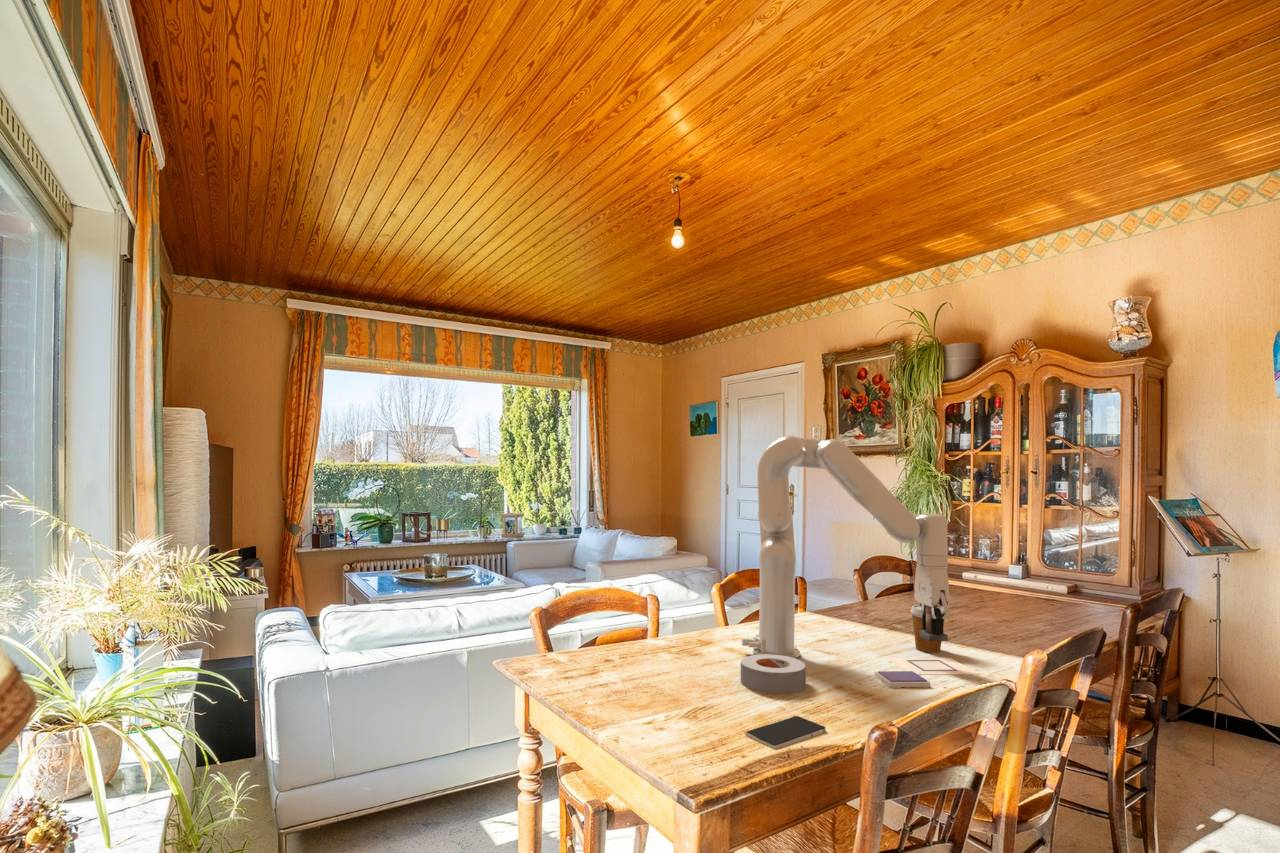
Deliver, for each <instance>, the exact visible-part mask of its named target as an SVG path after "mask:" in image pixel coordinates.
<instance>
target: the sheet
mask: <svg viewBox="0 0 1280 853" xmlns="http://www.w3.org/2000/svg"><path fill="white" fill-rule="evenodd" d="M886 659H887V660H888V661H890V662H891V663H893V664H894V665H896V666H898V667H899V668H900V669H902V671H913V672H915V673H916V674H918V675H919V676H921V675H923V676H929V675H930V676H932V675H933V676H935V675H936V676H937V675H938V676H939V675H941V676H942V675H946V676H947V675H951V676H953V675H980V673H979V672H978V671H975V670H973V669H971V668H969V667H968V666H966V665H964V664H962V663H960V662H959V661H957V660H955V659H953V658H951V657H886Z"/></svg>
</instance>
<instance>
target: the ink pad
mask: <svg viewBox="0 0 1280 853" xmlns="http://www.w3.org/2000/svg"><path fill="white" fill-rule="evenodd" d="M874 677H876V679H878V680H879V681H880V682H881V683H882V684H884V685H885V686H886V685H887V686H886V687H888V688H889V689H891V688H892V689H893V688H894V689H895V688H896V689H899V688H901V687H923V688H931V682H930V681H929V680H927V679H926V678H924V677H923V676H921V675H918V674H916V673H915V672H913V671H905V670H901V671H900V670H899V671H898V670H895V671H894V670H893V671H890V670H886V671H885V670H884V671H883V670H881V671H875V672H874ZM901 689H902V688H901Z"/></svg>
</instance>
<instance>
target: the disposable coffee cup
mask: <svg viewBox="0 0 1280 853" xmlns="http://www.w3.org/2000/svg"><path fill="white" fill-rule="evenodd" d="M909 612H910V615H911V618H912V628H913V635H914V642H915V650H917V651H919V652H921V653H928V654H938V653H941V648H942V641H928V640H926V639H924V638H922V637H920V630H923V629H922V613H921V606H920V604H914V605H912V606H911V609H910V610H909ZM946 616H947V612H946V613H945V615H944V619H943V627H944V625H945V618H946Z"/></svg>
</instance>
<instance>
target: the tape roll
mask: <svg viewBox="0 0 1280 853" xmlns="http://www.w3.org/2000/svg"><path fill="white" fill-rule="evenodd" d="M806 668H807V667H806V664H805V662H804V661H803V660H800V659H798V658H792V657H787V656H781V655H771V654H760V655H755V654H753V655H752V654H751V655H748V656H745V657H744V658H741V660H740V685H742V686H743V687H745V688H747V689H748V690H751V689H752V690H751V691H754V690H755V692H758V691H759V693H762V692H763V694H769V693H771V694H772V695H793V694H796V693H800V692H803V691H804V690H805V689H806V687H807V672H806V671H807V669H806ZM792 693H793V694H792ZM771 694H770V695H771Z"/></svg>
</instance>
